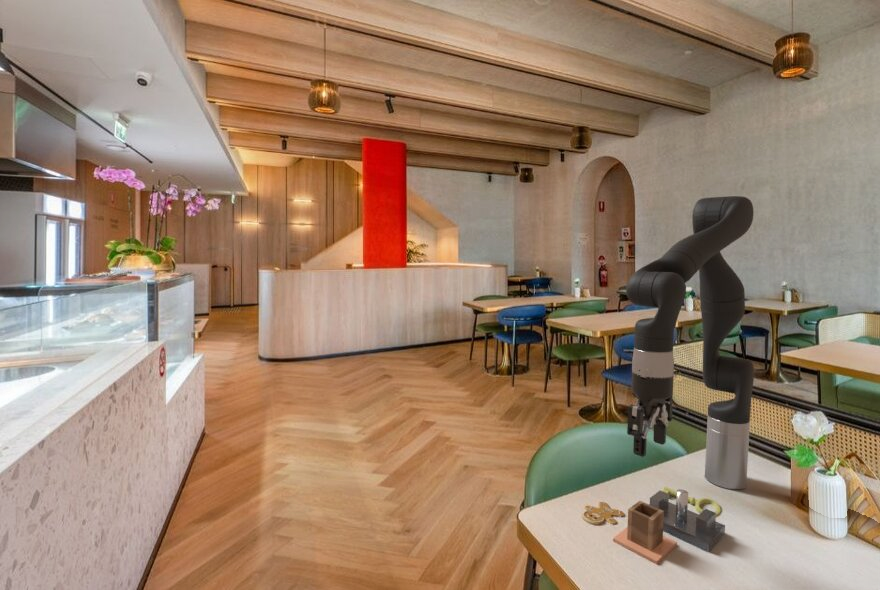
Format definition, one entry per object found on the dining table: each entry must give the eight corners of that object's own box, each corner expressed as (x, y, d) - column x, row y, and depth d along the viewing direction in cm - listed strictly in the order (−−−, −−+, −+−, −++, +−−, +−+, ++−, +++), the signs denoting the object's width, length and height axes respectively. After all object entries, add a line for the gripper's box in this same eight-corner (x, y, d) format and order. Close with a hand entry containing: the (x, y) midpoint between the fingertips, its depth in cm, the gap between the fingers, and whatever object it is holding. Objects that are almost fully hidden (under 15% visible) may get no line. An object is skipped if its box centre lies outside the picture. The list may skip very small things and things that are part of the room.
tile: (634, 524, 96) (634, 521, 96) (676, 544, 89) (676, 542, 89) (612, 540, 90) (612, 538, 90) (656, 564, 83) (656, 561, 83)
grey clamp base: (657, 505, 103) (659, 473, 102) (724, 534, 92) (726, 498, 92) (639, 519, 97) (640, 485, 97) (708, 552, 86) (710, 514, 86)
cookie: (630, 513, 99) (602, 528, 93) (630, 517, 99) (602, 532, 93) (599, 497, 106) (571, 510, 100) (599, 501, 106) (571, 513, 100)
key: (661, 493, 109) (662, 485, 109) (719, 505, 104) (719, 497, 103) (661, 507, 103) (662, 499, 103) (723, 522, 97) (723, 513, 97)
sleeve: (638, 529, 93) (639, 500, 92) (662, 541, 89) (663, 511, 89) (627, 539, 90) (628, 509, 89) (651, 551, 86) (652, 520, 85)
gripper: (650, 362, 94) (647, 434, 95) (616, 373, 85) (614, 452, 86) (687, 368, 88) (684, 445, 90) (654, 381, 79) (651, 466, 81)
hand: (649, 448), depth 88 cm, fingers open, 8 cm apart
